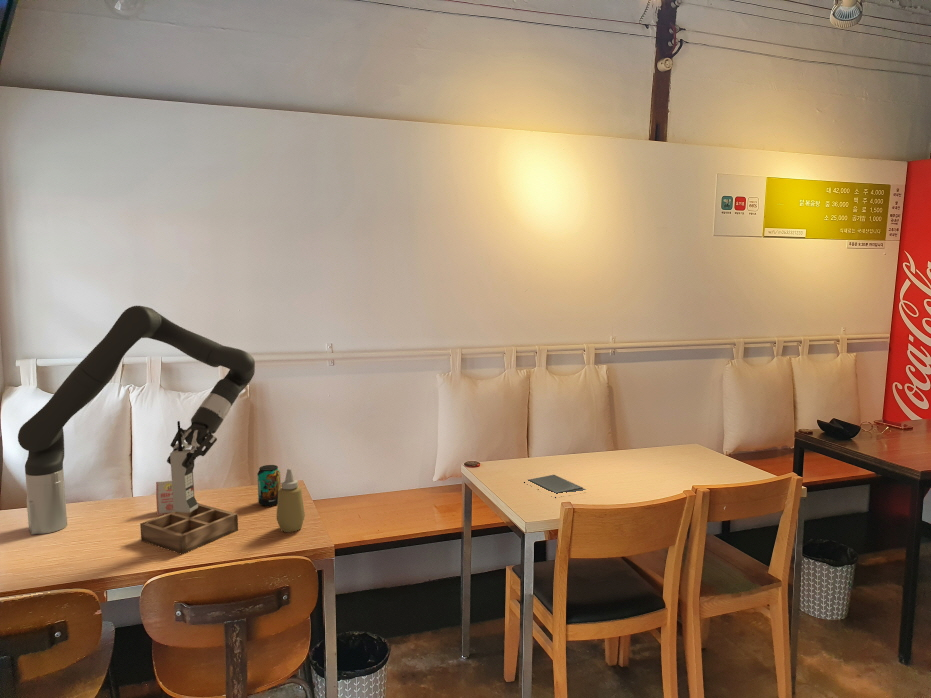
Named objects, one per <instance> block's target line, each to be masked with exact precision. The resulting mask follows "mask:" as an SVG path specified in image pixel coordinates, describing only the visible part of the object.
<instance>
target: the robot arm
mask: <svg viewBox="0 0 931 698" xmlns="http://www.w3.org/2000/svg"><path fill="white" fill-rule="evenodd" d="M141 339H151V340H155V341H158V342H162V343H165V344H166V345H169V346H171V347H173V348H175V349H177V350H178V351H180V352H182V353H183V354H185V355H187V356H188V357H190V358H192V359H194V360H196V361H198V362H200V363H203V364H204V365H207V366H209V367H212V368H219V367H223V368H225V369H228V371H227V374H226V375H225V376H224V378H221V379H219V380H218V381H217V382H216V384H214V386H213V388H212V389H211V391H210V392H209V394H208V395H207V396H206V397H205V398H204V400H203V401H202V403H201V404H200V405H199V407H198V408H197V410H196V411H195V413H194V414H193V415H192V417H191V419H190V422H191V423H190V426H189V427H188V428H186V429H183V428H182V427H180V432H181V440H182V449H189V448H190V447H191V448H190V450H191V451H190V452H191V453H189V454H188V455H187V457H186V458H185V460H184V461H183V463H182V466H183V467H184V468H187V469H188V468H189V467H190V466H191V465H192V463H193V462H194V463H195V461H196V459H197V458H199V457H200V456H201V457H204V456H206V454H207V453H208V452H209V450H211V448H212V447H213V445H215V443H216V442H217V440H218V438H217V437H216V436H215V435H214V434H215V433H216V432H217V431H218V429H219V428H220V427H221V425H222V423H223V422H224V420H225V418H226V417H227V416H228V414H229V412H230V410H231V408H232V407H233V405H234V403H235V401H237V398H238V397H239V394H241V392H243V390H245V388H246V387H247V386H248V385H249V383H250V382H251V381H252V379H253V377H254V376H255V371H256V369H255V367H256V361H255V359H254V357H253V356H252V354H250V353H248V352H247V351H245V350H244V349H240V348H235V347H232V346H226V345H223V344H220V343H219V342H217V341H214V340H211V338H210V339H209V337H205V336H202V335H200V334H198V333H195V332H194V331H191V330H189V329H186V328H184V327H182V326H179V325H178V324H176V323H175V322H173V321H171V320H169V319H168V318H167V317H165V316H164V315H162V314H161V313H159V312H157V311H156V310H155V309H153V308H151V307H148V306H145V305H144V306H143V305H132V306H130V307H128V308H126V309H125V310H124V311H123V312H122V313H121V314H120V315H119V317H118V318H117V320H116V321H115V323H114V324H113V326H111V328H110V329H109V331H108V332H107V334H106V335H105V336H104V337H103V338H102V339H101V341H100V342H99V343H98V344H96V346H95V347H93V348H92V350H91V351H90V352H89V353H88V354H87V355H86V356H85V357H84V358H83V359H82V361H80V362H79V363H78V364H77V366H76V367H75V368H74V369H73V370H72V371H71V372H70V374H69V375H68V376H67V377H66V379H64V381H63V382H62V384H60V386H59V387H58V388H57V390H56V391H55V392H54V394H53V395H52V396H51V397H50V398H49V400H48V401H47V402H46V403H45V405H44V406H43V407H41V408H40V409H39V410H38V411H37V412H36V413H35V414H33V415H32V417H31V418H29V419H28V420H27V421H26V422H25V423H23V424H22V425H21V426H20V428H19V430H18V433H17V441H18V444H19V446H20V447H21V448H22V449H23V450H25V451H28V452H27V453H28V454H27V460H26V462H25V463H24V472H25V473H24V475H25V476H24V477H25V485H26V496H27V497H26V511H27V523H28V529H29V532H30V535H31V536H32V535H41V534H50V533H54V532H57V531H60V530H62V529H64V528H66V527H67V526H68V516H67V502H66V501H67V499H66V490H65V477H64V459H65V435H64V434H65V433H64V426H65V425H67V423H68V422H69V420H71V418H72V417H73V416H74V415H76V414H77V413H78V412H80V410H82V409H83V408H84V407H86V405H88V404H89V403H90V402H91V401H92V400H94V398H96V397H97V396H98V395H99V394H100V392H102V391H103V389H104V388H105V387H106V386H107V385H108V384H109V383H110V381H111V380H112V379H113V377H114V376H115V374H116V372H117V370H118V368H119V366H120V363H121V362H122V359H123V358H124V356H125V355H126V354H127V353H128V351H129V350H130V349H131V348H132V347H133V346H134V345H135V344H137V342H139V341H140V340H141ZM170 447H171V448H172V452H173V451H176V450H178V449H179V446H178V431H176V434H175V435H174V437H173V439H172V441H171V443H170ZM204 447H205V448H204ZM166 463H167V464H169V465H170V466H171V461H170V455H169V456H168V457H167V460H166Z"/></svg>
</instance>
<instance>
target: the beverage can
mask: <svg viewBox="0 0 931 698" xmlns="http://www.w3.org/2000/svg"><path fill="white" fill-rule="evenodd" d="M258 469H259V470H258V472H257V475H256V476H257V495H258V497H257V502H258V504H259V505H260V506H261V505H262V506H261V507H265V506H269V507H273V506H272V505H275V506H277V505H276V504H278V491H279V490H280V489H281V488H282V487H281V471H280V470H279V467H278V465H275V464H265V465H262V466H259V467H258Z"/></svg>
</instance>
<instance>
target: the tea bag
mask: <svg viewBox="0 0 931 698" xmlns="http://www.w3.org/2000/svg"><path fill="white" fill-rule="evenodd" d="M155 484H156V485H155V486H156V489H155V490H156V492H155V493H156V494H155V495H156V515H157V516H162V514H164V515H165V514H168V513H171V512H174V505H173V490H172V480H164V481H163V480H162V481H156V482H155Z"/></svg>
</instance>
